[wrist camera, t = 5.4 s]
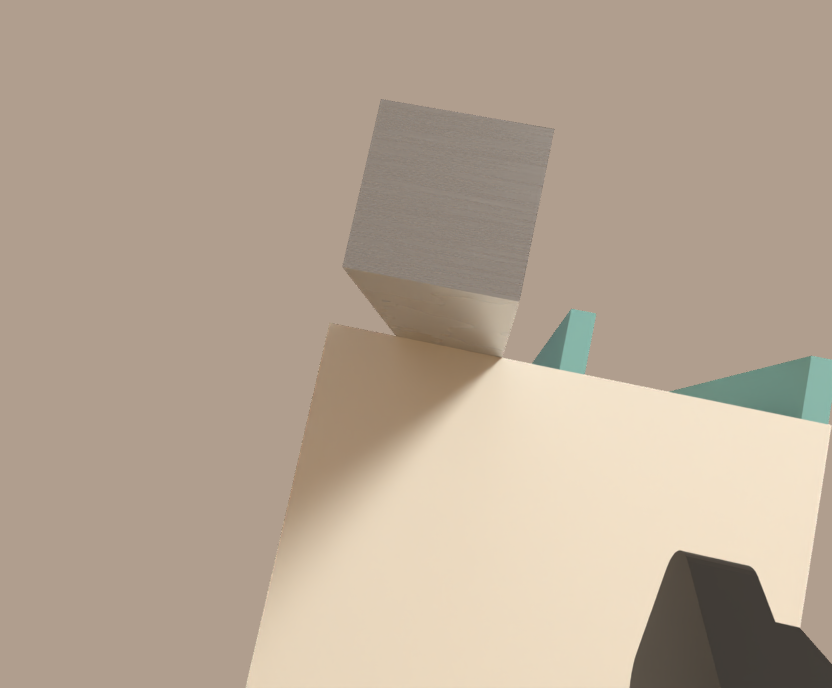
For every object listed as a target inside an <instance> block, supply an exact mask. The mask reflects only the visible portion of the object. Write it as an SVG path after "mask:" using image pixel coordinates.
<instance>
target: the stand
mask: <svg viewBox="0 0 832 688" xmlns="http://www.w3.org/2000/svg"><path fill="white" fill-rule="evenodd" d="M830 431H831V425H828V424H823V423H818V422H814V421H809V420H804V419H799V418H794V417H789V416H784V415H779V414H774V413H769V412H765V411H760V410H755V409H750V408H745V407H740V406H735V405H730V404H725V403H721V402H716V401H711V400H706V399H701V398H696V397H691V396H686V395H681V394H677V393H672V392H667V391H662V390H657V389H652V388H647V387H642V386H637V385H633V384H628V383H623V382H618V381H613V380H608V379H603V378H598V377H593V376H589V375H584V374H579V373H574V372H569V371H564V370H559V369H554V368H549V367H545V366H540V365H535V364H530V363H525V362H520V361H515V360H510V359H505V358H500V357H496V356H491V355H486V354H481V353H476V352H471V351H466V350H461V349H456V348H452V347H447V346H442V345H437V344H432V343H427V342H422V341H417V340H412V339H408V338H403V337H398V336H393V335H388V334H383V333H378V332H373V331H368V330H364V329H359V328H354V327H349V326H344V325H339V324H334V323H329V328H328V332H327V337H326V341H325V345H324V350H323V354H322V358H321V362H320V367H319V371H318V375H317V380H316V384H315V388H314V393H313V397H312V402H311V406H310V410H309V415H308V419H307V423H306V428H305V432H304V437H303V441H302V446H301V450H300V454H299V458H298V463H297V467H296V472H295V476H294V480H293V485H292V489H291V493H290V498H289V502H288V506H287V510H286V515H285V519H284V524H283V528H282V532H281V537H280V541H279V545H278V550H277V554H276V558H275V563H274V567H273V571H272V576H271V580H270V585H269V589H268V593H267V597H266V602H265V606H264V611H263V615H262V619H261V624H260V628H259V633H258V637H257V641H256V645H255V650H254V654H253V658H252V663H251V667H250V672H249V676H248V680H247V685H246V688H630V679H631V673H632V668H633V663H634V659H635V656H636V653H637V650H638V647H639V644H640V642H641V639H642V636H643V633H644V630H645V627H646V625H647V622H648V619H649V616H650V613H651V611H652V608H653V605H654V602H655V599H656V596H657V594H658V591H659V588H660V585H661V582H662V579H663V577H664V574H665V571H666V568H667V566H668V563H669V561H670V559H671V557H672V556H673V554H674V553H675V552H676V551H679V550H681V551H685V552H690V553H694V554H699V555H703V556H708V557H712V558H717V559H721V560H726V561H730V562H735V563H739V564H744V565H748V566H751V567H752V568H753V569H754V570H755V571H756V573H757V575H758V578H759V580H760V583H761V586H762V588H763V591H764V593H765V596H766V599H767V601H768V604H769V606H770V609H771V612H772V614H773V617H774V619H775V622H778V623H782V624H787V625H791V626H795V627H799V628H800V624H801V618H802V612H803V605H804V599H805V592H806V586H807V579H808V573H809V567H810V560H811V554H812V548H813V541H814V535H815V528H816V522H817V515H818V509H819V502H820V496H821V490H822V483H823V477H824V470H825V463H826V457H827V451H828V444H829V438H830Z"/></svg>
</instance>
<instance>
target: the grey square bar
mask: <svg viewBox="0 0 832 688" xmlns="http://www.w3.org/2000/svg"><path fill="white" fill-rule="evenodd" d="M553 133H554V129H552V128H546V127H540V126H534V125H528V124H522V123H516V122H510V121H505V120H499V119H492V118H487V117H482V116H476V115H470V114H464V113H458V112H452V111H446V110H441V109H435V108H429V107H423V106H418V105H412V104H406V103H400V102H394V101H388V100H382V99H381V101H380V106H379V110H378V114H377V119H376V123H375V127H374V132H373V136H372V141H371V145H370V149H369V154H368V158H367V162H366V167H365V171H364V175H363V180H362V184H361V188H360V193H359V197H358V202H357V206H356V210H355V214H354V219H353V223H352V228H351V232H350V237H349V241H348V245H347V249H346V254H345V258H344V263H343V268H344V270H345V271H346V272H347V274H348V275H349V276H350V277H351V279H352V280H353V281H354V283H355V284H356V285H357V286H358V288H359V289H360V290H361V292H362V293H363V294H364V295H365V297H366V298H367V299H368V300H369V302H370V303H371V304H372V306H373V307H374V308H375V309H376V311H377V312H378V313H379V315H380V316H381V317H382V319H383V320H384V321H385V322H386V323H387V325H388V326H389V328H390V329H391V330H392V331H393V333H394V334H395V335H396V336H398V337H403V338H408V339H412V340H417V341H422V342H427V343H432V344H437V345H442V346H447V347H452V348H456V349H461V350H466V351H471V352H476V353H481V354H486V355H491V356H496V357H500V358H502V356H503V353H504V350H505V347H506V343H507V340H508V337H509V334H510V330H511V327H512V324H513V321H514V318H515V314H516V311H517V308H518V304H519V300H520V296H521V291H522V286H523V281H524V276H525V271H526V266H527V262H528V257H529V252H530V247H531V242H532V237H533V232H534V227H535V222H536V217H537V212H538V207H539V202H540V198H541V193H542V188H543V183H544V178H545V173H546V168H547V163H548V158H549V153H550V148H551V143H552V138H553Z"/></svg>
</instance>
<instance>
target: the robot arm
mask: <svg viewBox="0 0 832 688" xmlns="http://www.w3.org/2000/svg"><path fill="white" fill-rule="evenodd" d="M630 688H832V664H831V663H830V662H829V661H828V659H827V658H826V657H825V656H824V655H823V654H822V653H821V652H820V650H819V649H818V648H817V647H816V646H815V645H814V643H813V642H812V641H811V640H810V639H809V638H808V637H807V636H806V634H805V633H804V632H803V631H802V630H801V629H800V628H799V627H795V626H791V625H787V624H782V623H778V622H775V619H774V617H773V614H772V612H771V609H770V606H769V604H768V601H767V599H766V596H765V593H764V591H763V588H762V586H761V583H760V580H759V578H758V575H757V573H756V571H755V570H754V569H753V568H752V567H751V566H748V565H744V564H739V563H735V562H730V561H726V560H721V559H717V558H712V557H708V556H703V555H699V554H694V553H690V552H685V551H681V550H679V551H676V552H675V553H674V554H673V556H672V557H671V559H670V561H669V563H668V566H667V568H666V571H665V574H664V577H663V579H662V582H661V585H660V588H659V591H658V594H657V596H656V599H655V602H654V605H653V608H652V611H651V613H650V616H649V619H648V622H647V625H646V627H645V630H644V633H643V636H642V639H641V642H640V644H639V647H638V650H637V653H636V656H635V659H634V663H633V668H632V673H631V679H630Z"/></svg>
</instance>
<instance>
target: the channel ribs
mask: <svg viewBox="0 0 832 688" xmlns="http://www.w3.org/2000/svg"><path fill="white" fill-rule="evenodd" d="M595 317H596V314H595V313H590V312H585V311H579V310H575V309H571V310H570V311H569V313H568V314H567V316H566V317H565V318H564V320H563V321H562V322H561V324H560V325H559V327H558V328H557V329H556V331H555V332H554V334H553V335H552V337H551V338H550V339H549V341H548V342H547V343H546V345H545V346H544V348H543V349H542V350H541V352H540V353H539V354H538V356H537V357H536V359H535V360H534V362H533V363H532V364H535V365H540V366H545V367H549V368H554V369H559V370H564V371H569V372H574V373H579V374H584V375H585V369H586V364H587V359H588V354H589V349H590V344H591V338H592V333H593V328H594V323H595ZM670 392H672V393H677V394H681V395H686V396H691V397H696V398H701V399H706V400H711V401H716V402H721V403H725V404H730V405H735V406H740V407H745V408H750V409H755V410H760V411H765V412H769V413H774V414H779V415H784V416H789V417H794V418H799V419H804V420H809V421H814V422H818V423H823V424H828V422H829V415H830V409H831V403H832V360H830V359H825V358H820V357H815V356H809V357H805V358H801V359H797V360H793V361H789V362H785V363H781V364H777V365H773V366H769V367H765V368H762V369H757V370H753V371H749V372H746V373H741V374H737V375H734V376H730V377H726V378H722V379H718V380H714V381H710V382H706V383H702V384H698V385H694V386H690V387H686V388H682V389H678V390H674V391H670Z"/></svg>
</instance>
